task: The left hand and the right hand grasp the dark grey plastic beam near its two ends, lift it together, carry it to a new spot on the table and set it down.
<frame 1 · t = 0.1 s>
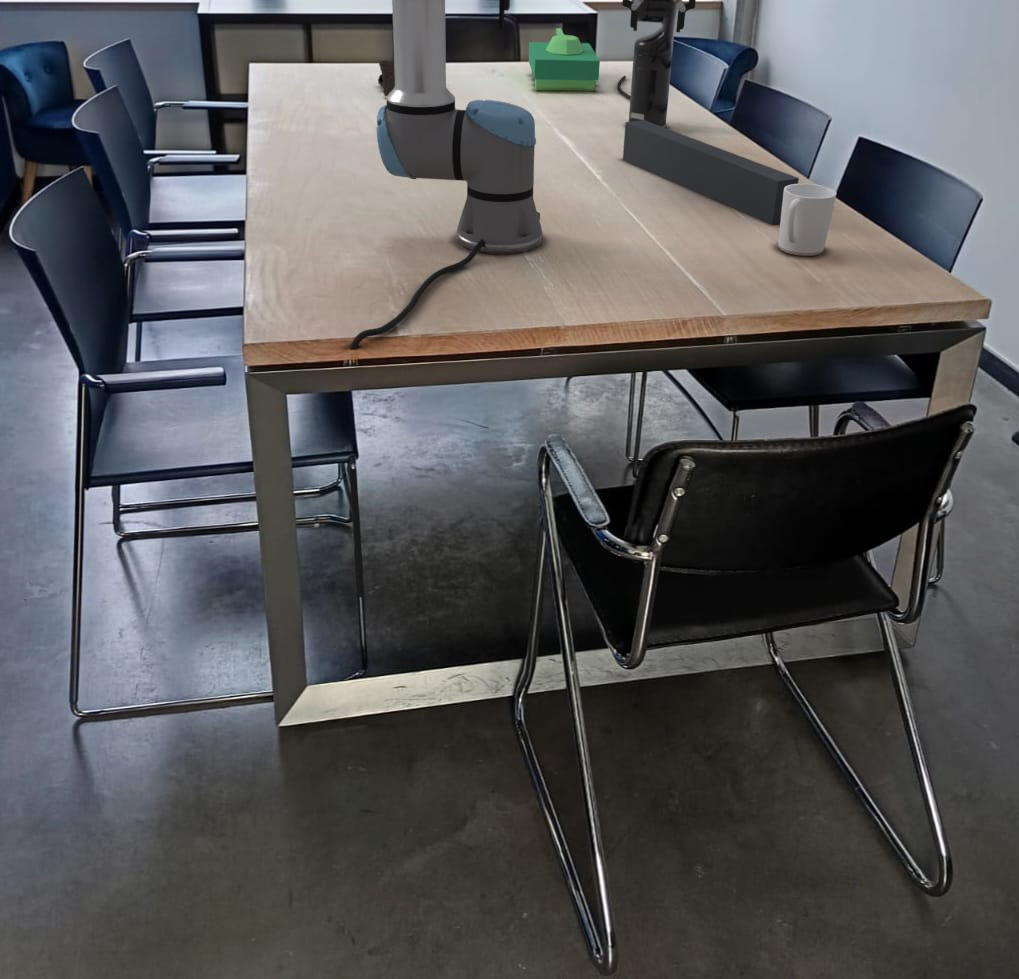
left hand: (468, 26, 224), 28 cm above the table, tool pointing down, fingers open, 13 cm apart
right hand: (656, 31, 218), 29 cm above the table, tool pointing down, fingers open, 8 cm apart
mug: (797, 250, 194), on the table
beam: (700, 188, 227), on the table
axe head: (403, 91, 300), on the table
toy tank: (560, 80, 317), on the table
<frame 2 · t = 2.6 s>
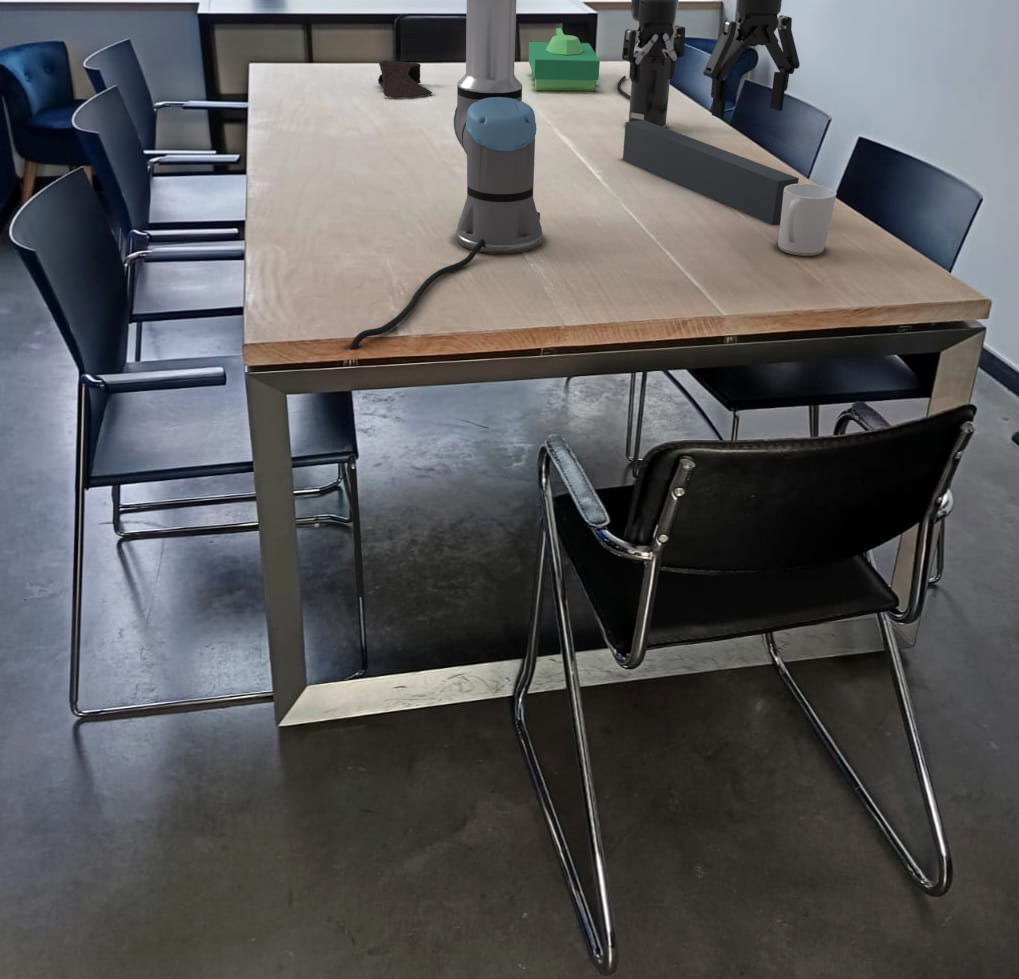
left hand: (747, 113, 205), 18 cm above the table, tool pointing down, fingers open, 13 cm apart
right hand: (651, 80, 232), 18 cm above the table, tool pointing down, fingers open, 8 cm apart
nothing on the table moved.
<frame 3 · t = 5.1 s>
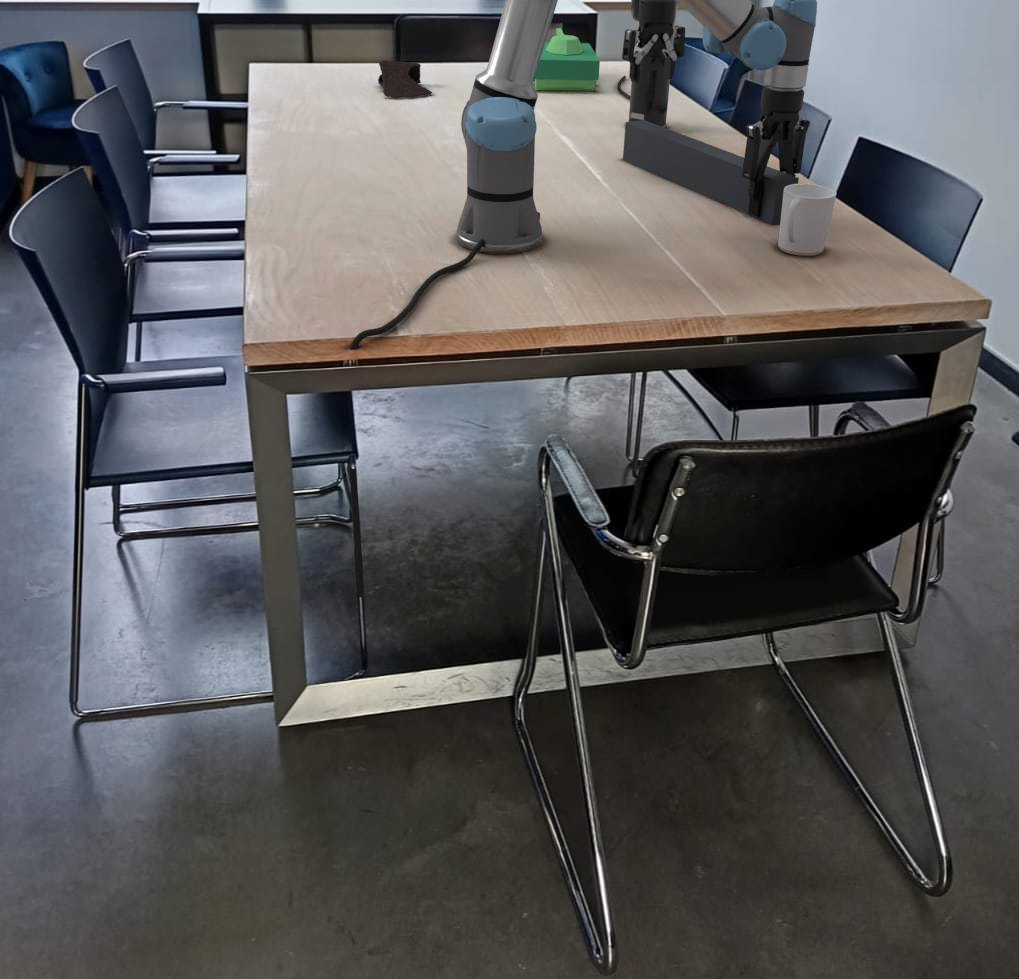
left hand: (765, 212, 211), 1 cm above the table, tool pointing down, fingers closed on beam, 5 cm apart
right hand: (651, 80, 232), 18 cm above the table, tool pointing down, fingers open, 8 cm apart
beam: (700, 188, 227), on the table, touching left hand
everything else where it was.
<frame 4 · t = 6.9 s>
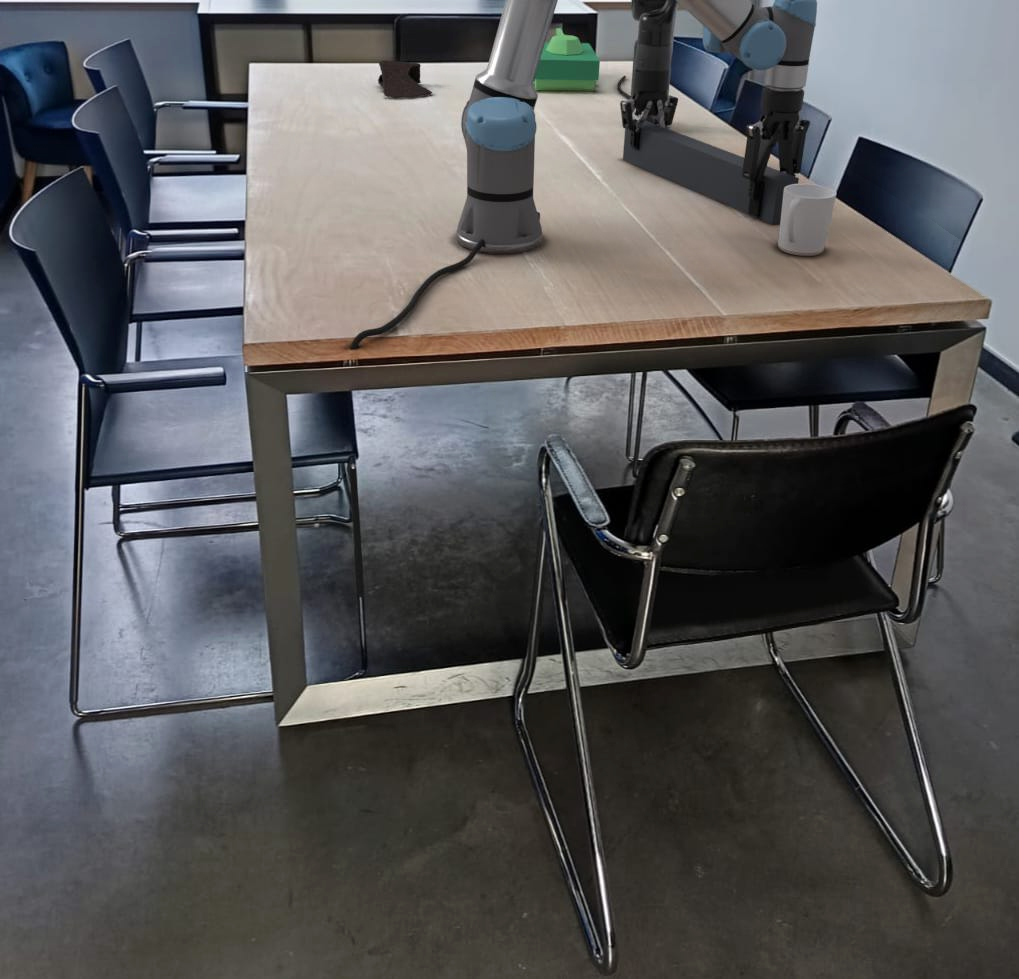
left hand: (765, 212, 211), 1 cm above the table, tool pointing down, fingers closed on beam, 5 cm apart
right hand: (645, 147, 240), 4 cm above the table, tool pointing down, fingers closed on beam, 5 cm apart
beam: (700, 188, 227), on the table, touching left hand, right hand
everything else where it was.
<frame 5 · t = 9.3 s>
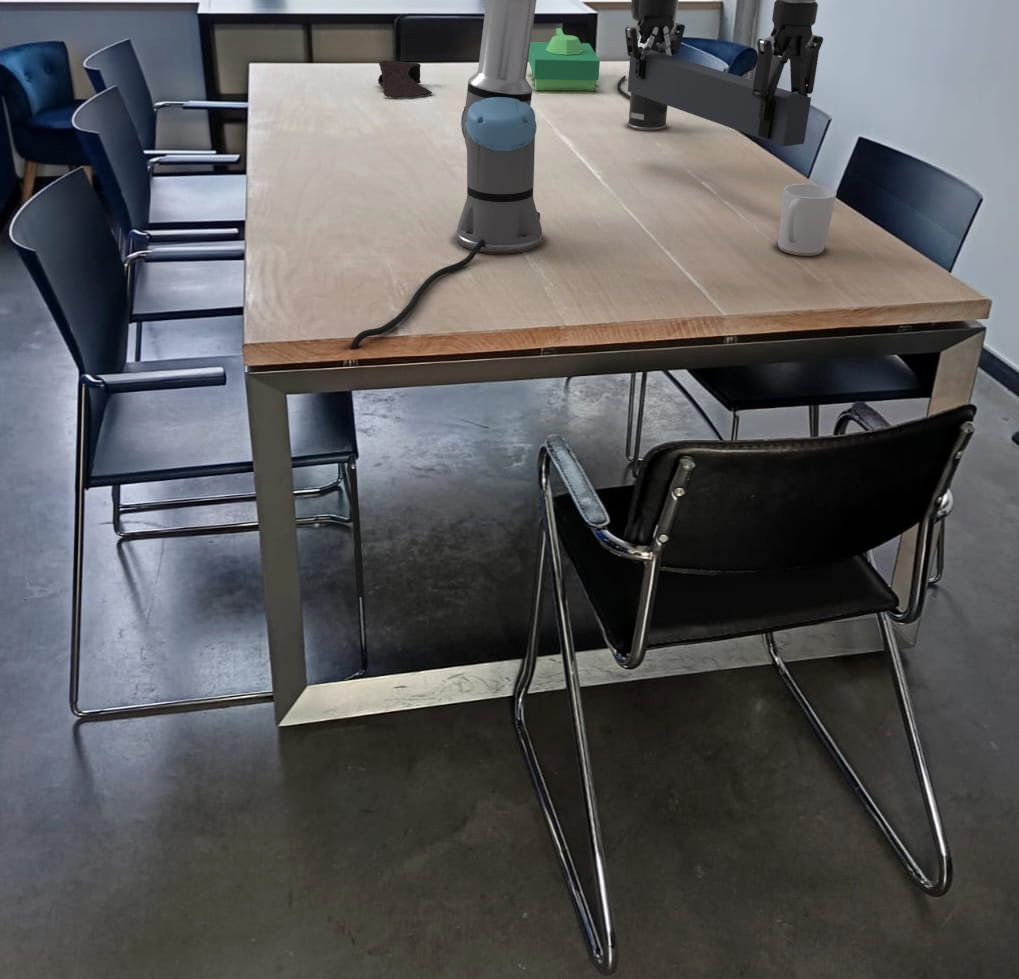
left hand: (776, 135, 204), 15 cm above the table, tool pointing down, fingers closed on beam, 5 cm apart
right hand: (651, 77, 232), 18 cm above the table, tool pointing down, fingers closed on beam, 5 cm apart
beam: (708, 115, 219), point 15 cm above the table, touching left hand, right hand
everything else where it was.
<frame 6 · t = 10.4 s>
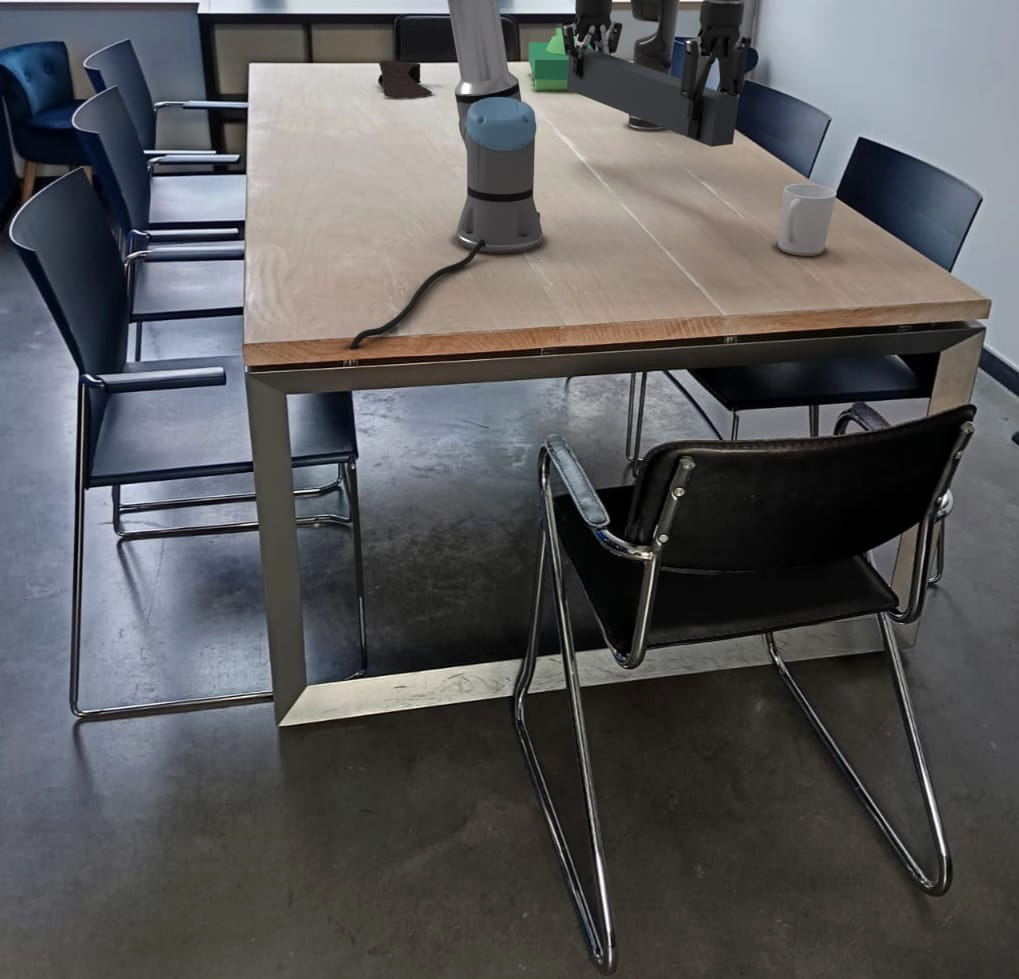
left hand: (705, 135, 204), 15 cm above the table, tool pointing down, fingers closed on beam, 5 cm apart
right hand: (589, 75, 232), 18 cm above the table, tool pointing down, fingers closed on beam, 5 cm apart
beam: (643, 114, 219), point 14 cm above the table, touching left hand, right hand
everything else where it was.
when the left hand's fingers open (2 cm above the table, at t = 13.6 s): beam drops 2 cm, on the table.
when the right hand's fingers open (5 cm above the table, at t = 13.8 s): beam stays where it is, on the table.
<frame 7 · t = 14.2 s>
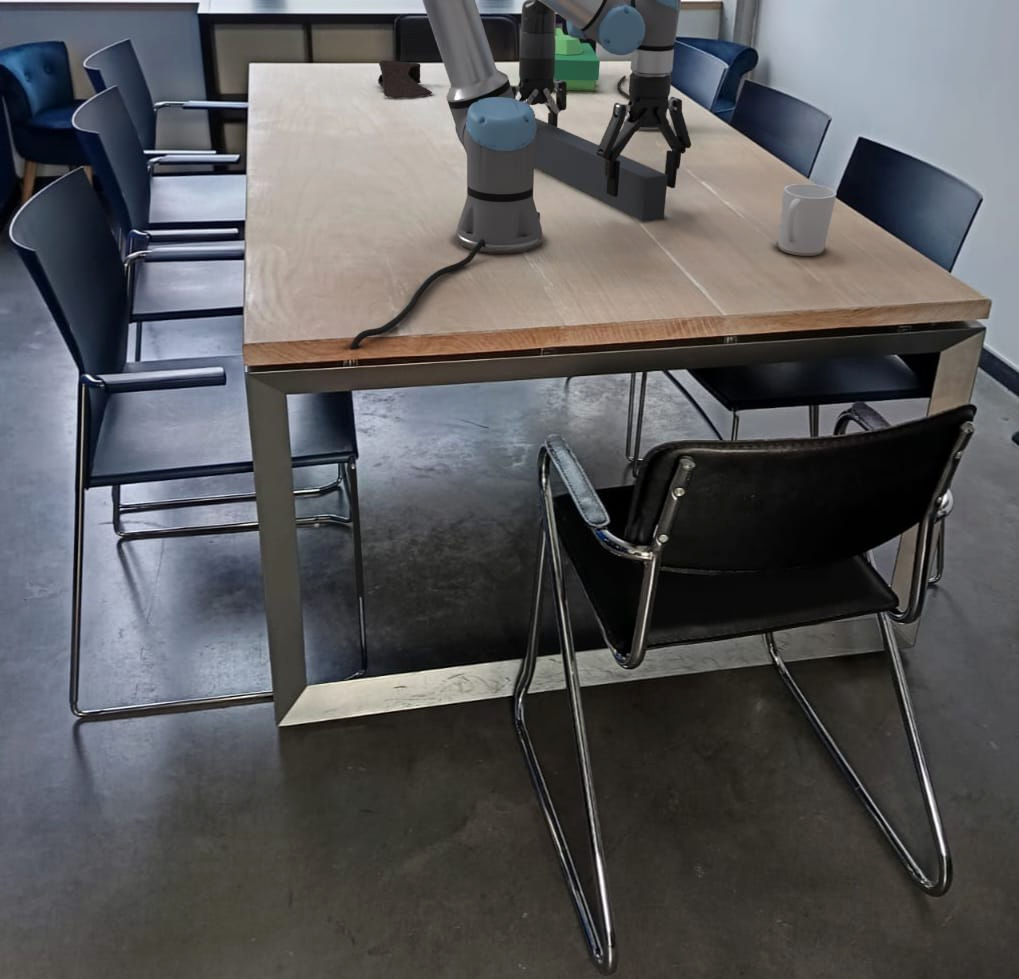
left hand: (641, 190, 209), 4 cm above the table, tool pointing down, fingers open, 13 cm apart
right hand: (534, 133, 238), 6 cm above the table, tool pointing down, fingers open, 8 cm apart
beam: (582, 185, 227), on the table
everything else where it was.
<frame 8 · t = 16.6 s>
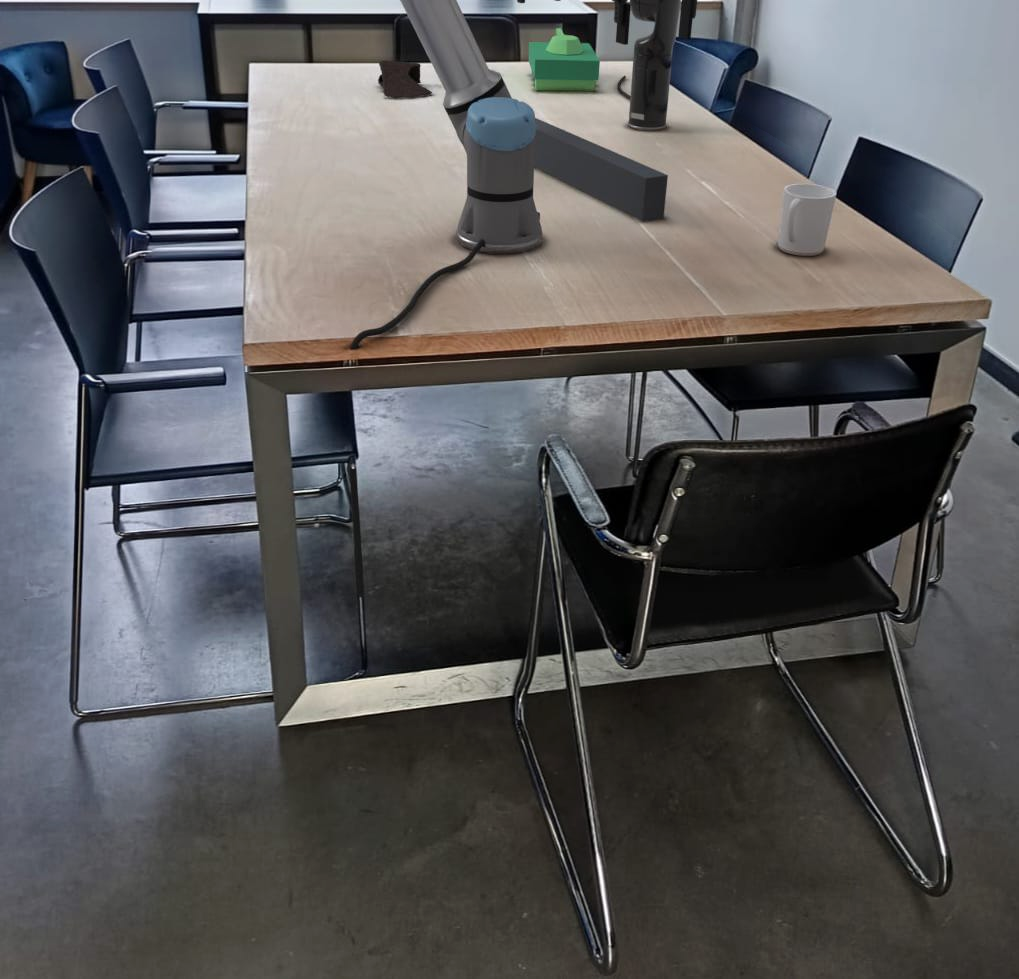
left hand: (653, 41, 195), 31 cm above the table, tool pointing down, fingers open, 13 cm apart
right hand: (538, 1, 224), 33 cm above the table, tool pointing down, fingers open, 8 cm apart
nothing on the table moved.
at the end: beam inside the target area (0.4 cm from its centre), on the table; beam tilted 0°; beam never tilted more than 2° during the clip; both hands held the beam at the same time; the left hand is holding nothing; the right hand is holding nothing; beam at rest at the end (0.0 cm/s) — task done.
